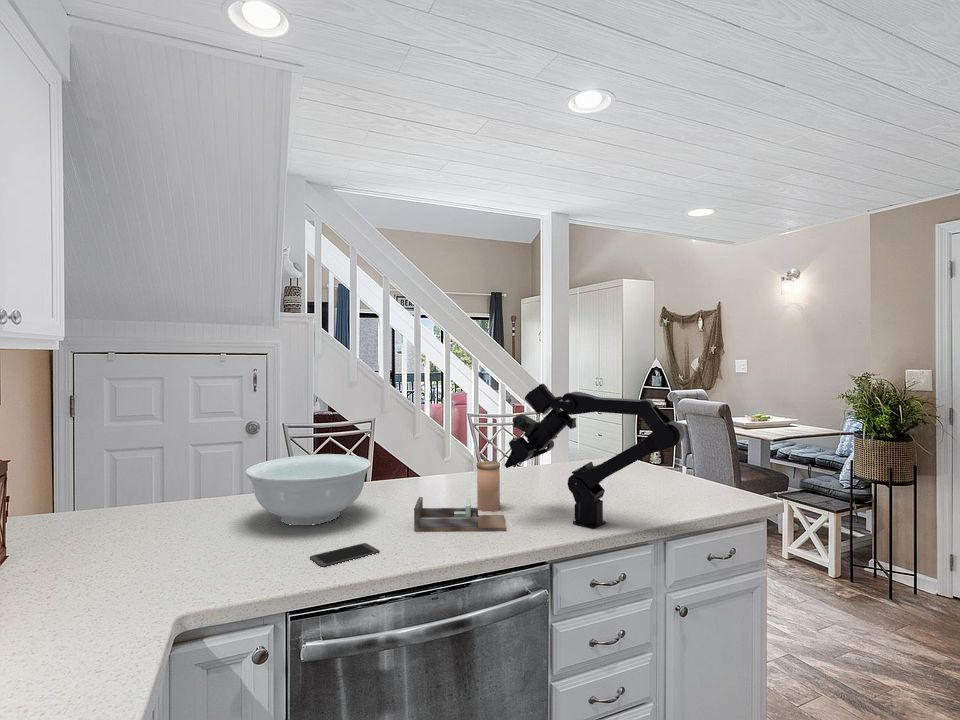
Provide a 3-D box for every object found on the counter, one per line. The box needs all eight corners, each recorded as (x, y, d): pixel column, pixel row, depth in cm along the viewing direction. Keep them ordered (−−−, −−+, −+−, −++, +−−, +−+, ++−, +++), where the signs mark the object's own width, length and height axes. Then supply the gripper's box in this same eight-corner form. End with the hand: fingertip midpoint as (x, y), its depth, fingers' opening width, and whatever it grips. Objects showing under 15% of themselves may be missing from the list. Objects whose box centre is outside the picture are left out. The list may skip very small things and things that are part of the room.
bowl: (270, 547, 125) (269, 484, 125) (231, 515, 150) (230, 463, 150) (392, 520, 145) (392, 465, 145) (340, 496, 170) (339, 450, 170)
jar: (505, 508, 156) (505, 463, 156) (489, 513, 151) (489, 466, 151) (487, 503, 161) (487, 460, 161) (471, 508, 156) (471, 463, 156)
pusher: (470, 516, 145) (470, 498, 145) (470, 524, 138) (470, 506, 138) (454, 516, 145) (454, 499, 145) (453, 524, 138) (453, 506, 138)
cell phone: (381, 554, 121) (381, 551, 121) (321, 569, 112) (321, 566, 112) (365, 545, 127) (365, 542, 127) (308, 559, 118) (308, 556, 118)
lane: (504, 517, 147) (503, 496, 147) (506, 531, 136) (505, 507, 136) (419, 518, 147) (418, 497, 147) (414, 531, 136) (414, 508, 136)
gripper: (544, 402, 157) (510, 437, 163) (515, 407, 141) (479, 446, 147) (569, 431, 154) (534, 466, 159) (543, 440, 137) (504, 479, 143)
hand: (513, 463), depth 152 cm, fingers open, 9 cm apart
